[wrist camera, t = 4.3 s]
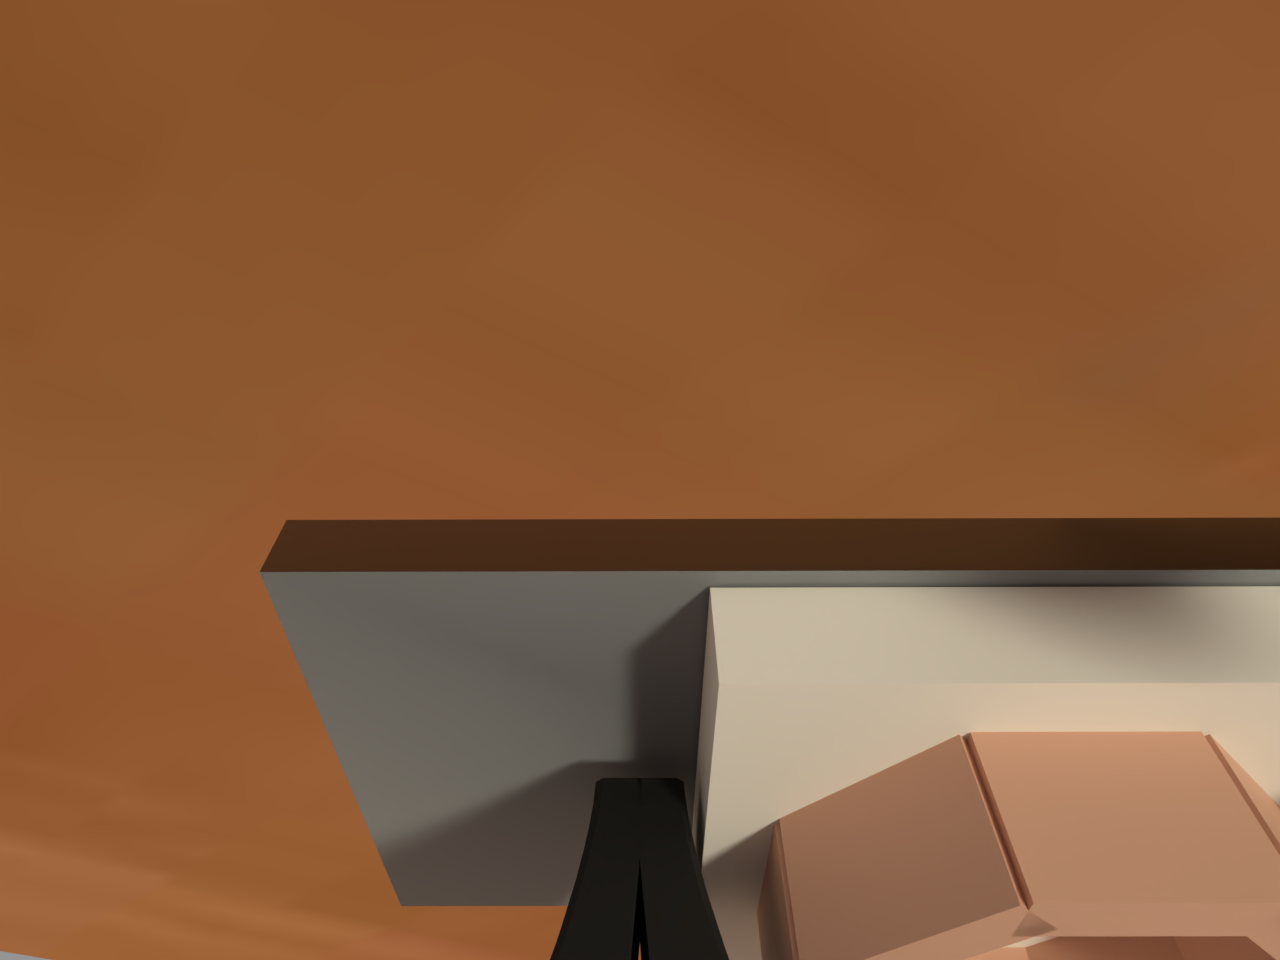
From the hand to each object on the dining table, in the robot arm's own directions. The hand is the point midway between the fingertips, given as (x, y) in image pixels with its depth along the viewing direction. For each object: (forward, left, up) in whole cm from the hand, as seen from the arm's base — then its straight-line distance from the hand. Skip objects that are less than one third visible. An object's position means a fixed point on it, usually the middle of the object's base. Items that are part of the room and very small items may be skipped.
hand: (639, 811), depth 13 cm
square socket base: (0, +5, 0) cm, 5 cm away
